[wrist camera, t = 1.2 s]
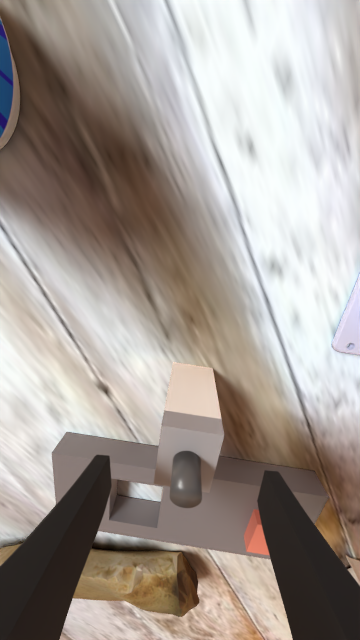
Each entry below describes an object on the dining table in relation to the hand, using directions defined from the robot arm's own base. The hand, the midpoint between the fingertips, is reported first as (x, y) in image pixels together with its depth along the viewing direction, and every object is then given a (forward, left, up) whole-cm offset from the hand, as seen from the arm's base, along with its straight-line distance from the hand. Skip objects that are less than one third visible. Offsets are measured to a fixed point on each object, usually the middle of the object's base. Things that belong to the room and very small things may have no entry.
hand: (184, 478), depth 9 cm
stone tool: (+8, +25, -7) cm, 28 cm away
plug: (0, 0, -7) cm, 7 cm away
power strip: (-1, +11, -7) cm, 13 cm away
